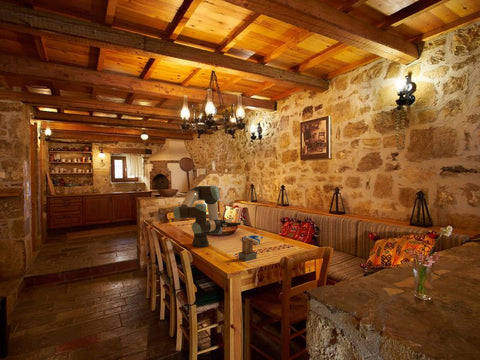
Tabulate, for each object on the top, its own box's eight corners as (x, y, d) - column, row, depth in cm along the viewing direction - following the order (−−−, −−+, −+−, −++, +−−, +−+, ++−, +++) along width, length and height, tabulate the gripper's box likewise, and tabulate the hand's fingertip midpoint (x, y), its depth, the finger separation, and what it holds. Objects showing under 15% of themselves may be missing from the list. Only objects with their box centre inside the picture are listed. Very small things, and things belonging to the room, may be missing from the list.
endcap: (245, 261, 198) (245, 255, 198) (238, 258, 204) (238, 252, 204) (256, 258, 205) (256, 252, 204) (249, 255, 211) (249, 249, 211)
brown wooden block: (245, 259, 201) (245, 240, 200) (242, 257, 204) (242, 239, 204) (252, 257, 205) (252, 239, 204) (249, 255, 208) (249, 238, 208)
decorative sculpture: (252, 242, 239) (235, 235, 264) (252, 246, 239) (235, 239, 264) (274, 238, 253) (256, 232, 278) (274, 242, 253) (256, 236, 278)
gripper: (204, 227, 195) (227, 224, 208) (223, 233, 175) (247, 229, 188) (204, 217, 194) (227, 214, 207) (223, 222, 175) (247, 218, 188)
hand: (237, 221), depth 198 cm, fingers open, 13 cm apart
